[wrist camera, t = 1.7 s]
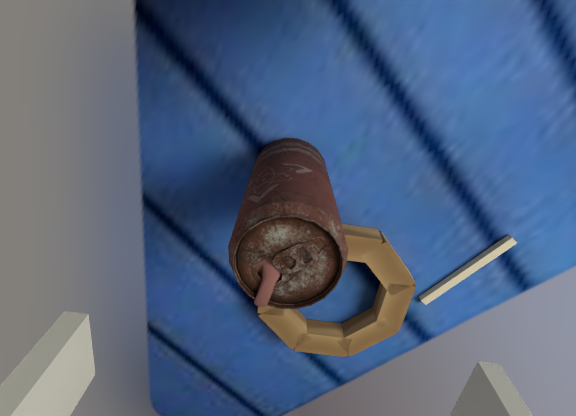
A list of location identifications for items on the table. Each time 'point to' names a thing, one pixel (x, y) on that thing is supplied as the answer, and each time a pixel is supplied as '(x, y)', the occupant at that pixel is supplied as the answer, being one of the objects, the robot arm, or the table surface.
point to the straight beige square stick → (468, 269)
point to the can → (288, 229)
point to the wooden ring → (366, 325)
